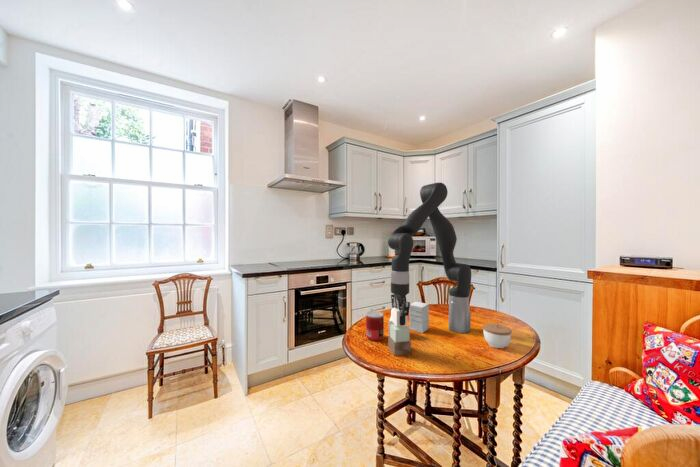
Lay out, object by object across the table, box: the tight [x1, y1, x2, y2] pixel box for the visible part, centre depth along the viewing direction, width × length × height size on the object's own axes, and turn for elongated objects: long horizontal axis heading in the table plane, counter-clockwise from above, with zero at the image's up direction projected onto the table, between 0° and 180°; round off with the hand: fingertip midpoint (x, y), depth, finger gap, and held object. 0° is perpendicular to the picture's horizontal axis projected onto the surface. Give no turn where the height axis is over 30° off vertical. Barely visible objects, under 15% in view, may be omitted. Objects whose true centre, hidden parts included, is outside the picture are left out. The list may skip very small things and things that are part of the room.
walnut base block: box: [387, 335, 412, 356], centre depth 105 cm, size 7×7×5 cm
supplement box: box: [408, 301, 430, 334], centre depth 128 cm, size 7×7×13 cm
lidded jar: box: [482, 322, 513, 349], centre depth 110 cm, size 11×11×9 cm
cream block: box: [391, 307, 408, 326], centre depth 105 cm, size 5×5×6 cm
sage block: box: [389, 324, 410, 342], centre depth 105 cm, size 6×6×5 cm
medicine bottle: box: [388, 308, 394, 336], centre depth 122 cm, size 7×7×12 cm
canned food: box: [365, 311, 385, 342], centre depth 118 cm, size 8×8×11 cm
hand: (399, 322), depth 106 cm, fingers closed on cream block, 4 cm apart
